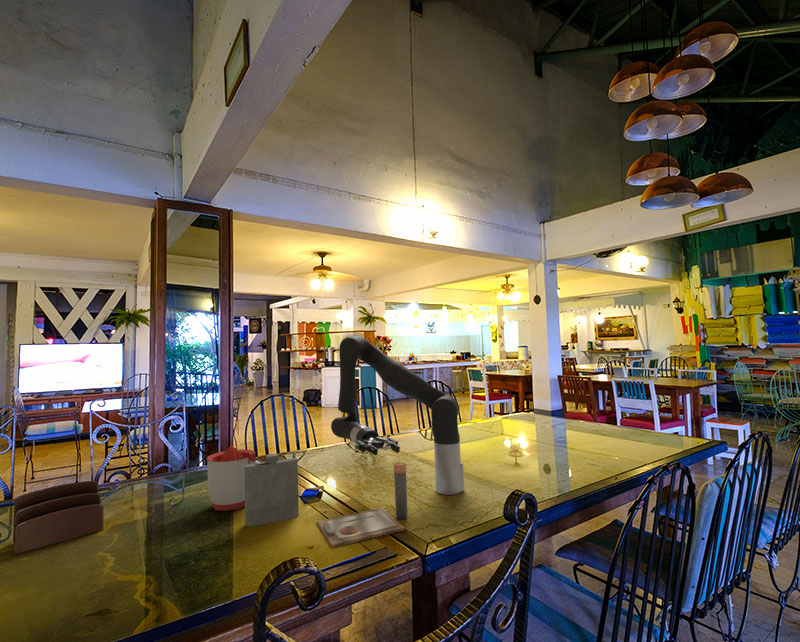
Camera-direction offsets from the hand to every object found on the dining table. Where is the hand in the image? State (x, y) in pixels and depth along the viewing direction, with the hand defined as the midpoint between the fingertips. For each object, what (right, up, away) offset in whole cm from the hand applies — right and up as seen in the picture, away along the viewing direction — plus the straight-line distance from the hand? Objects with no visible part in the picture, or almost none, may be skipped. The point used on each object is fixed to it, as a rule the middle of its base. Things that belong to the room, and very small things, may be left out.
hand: (387, 450), depth 138 cm
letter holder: (-96, -21, -15) cm, 99 cm away
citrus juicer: (-53, -20, +5) cm, 57 cm away
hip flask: (-35, -19, -9) cm, 41 cm away
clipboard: (-8, -17, -16) cm, 25 cm away
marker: (+5, -17, -11) cm, 21 cm away
